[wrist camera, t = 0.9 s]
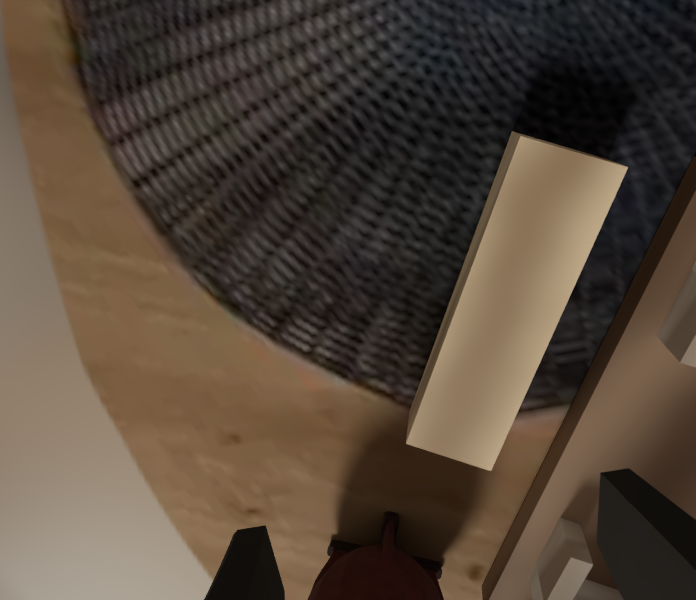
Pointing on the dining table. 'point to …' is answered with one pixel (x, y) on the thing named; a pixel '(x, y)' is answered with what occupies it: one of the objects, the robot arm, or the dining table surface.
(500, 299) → the slat
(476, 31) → the dining table surface
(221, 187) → the dining table surface
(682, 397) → the endcap rail
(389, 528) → the mate gourd
